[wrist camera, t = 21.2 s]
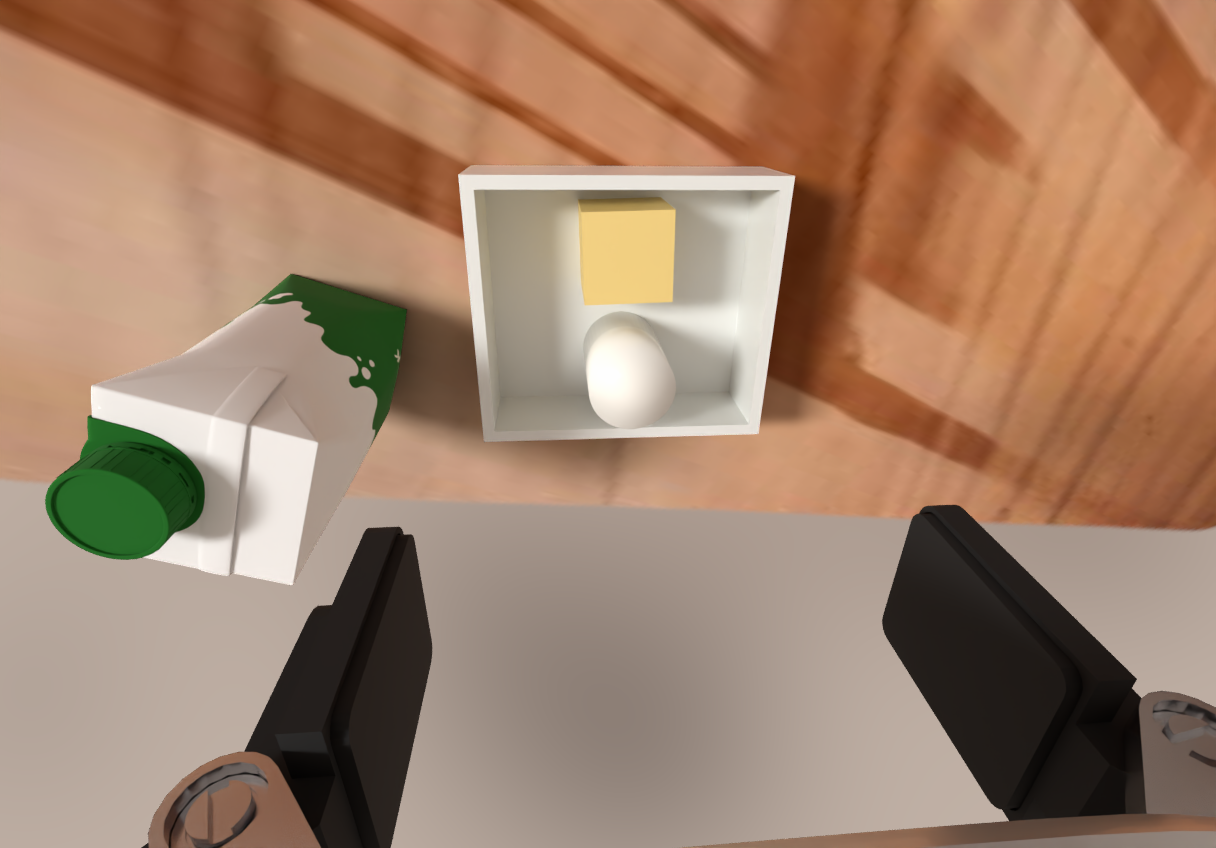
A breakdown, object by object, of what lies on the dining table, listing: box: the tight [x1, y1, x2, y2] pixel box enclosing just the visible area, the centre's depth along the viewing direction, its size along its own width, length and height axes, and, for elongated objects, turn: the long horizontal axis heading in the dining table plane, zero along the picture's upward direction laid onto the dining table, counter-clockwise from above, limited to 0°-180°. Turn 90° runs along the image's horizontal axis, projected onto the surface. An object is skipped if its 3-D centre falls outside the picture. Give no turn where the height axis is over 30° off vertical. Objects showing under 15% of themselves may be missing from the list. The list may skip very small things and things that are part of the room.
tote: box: [458, 165, 795, 442], centre depth 37 cm, size 17×15×6 cm
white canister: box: [583, 311, 676, 429], centre depth 38 cm, size 5×5×7 cm
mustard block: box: [578, 197, 676, 305], centre depth 35 cm, size 5×5×5 cm
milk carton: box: [45, 274, 407, 585], centre depth 31 cm, size 9×9×20 cm
